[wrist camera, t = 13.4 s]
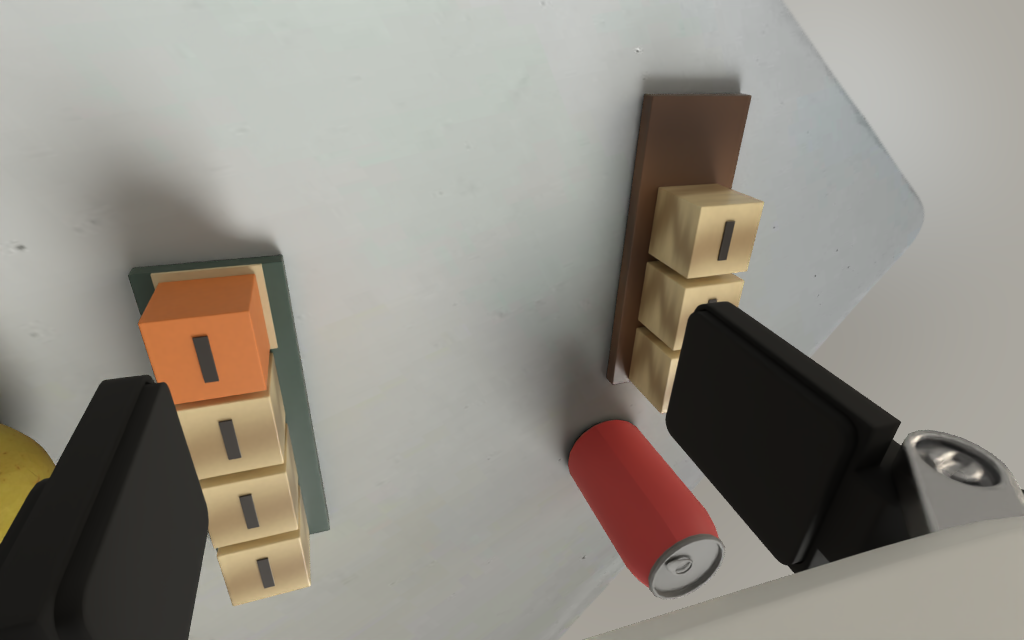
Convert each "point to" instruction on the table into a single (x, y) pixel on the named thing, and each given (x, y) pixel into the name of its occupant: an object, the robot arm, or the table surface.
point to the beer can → (645, 510)
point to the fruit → (19, 472)
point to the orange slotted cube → (207, 337)
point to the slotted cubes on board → (679, 233)
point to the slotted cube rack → (254, 446)
